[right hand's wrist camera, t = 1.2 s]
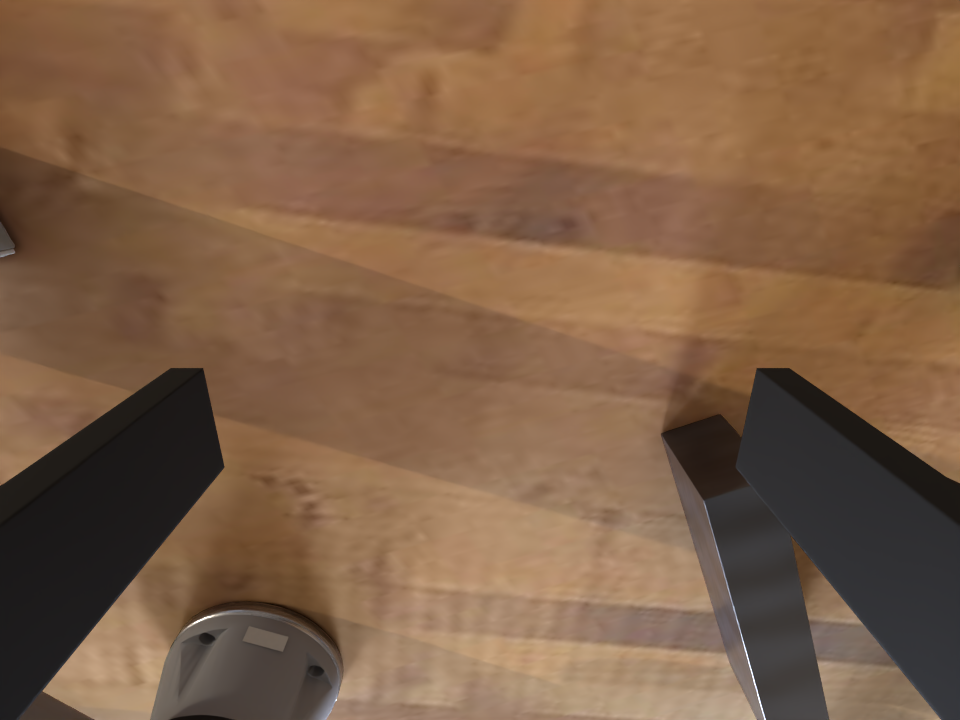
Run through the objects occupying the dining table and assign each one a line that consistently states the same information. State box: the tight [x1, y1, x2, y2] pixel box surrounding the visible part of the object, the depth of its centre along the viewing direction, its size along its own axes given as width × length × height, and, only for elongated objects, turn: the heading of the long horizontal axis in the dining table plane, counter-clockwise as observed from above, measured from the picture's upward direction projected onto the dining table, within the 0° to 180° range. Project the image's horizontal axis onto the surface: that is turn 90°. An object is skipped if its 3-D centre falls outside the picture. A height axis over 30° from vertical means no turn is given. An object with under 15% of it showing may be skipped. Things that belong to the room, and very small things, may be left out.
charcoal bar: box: [661, 414, 829, 720], centre depth 39 cm, size 26×4×8 cm, turn 22°
